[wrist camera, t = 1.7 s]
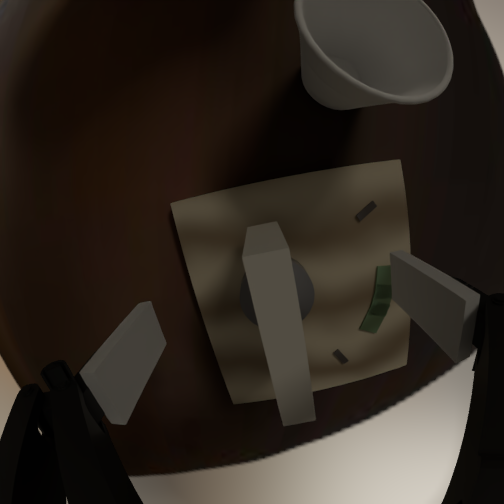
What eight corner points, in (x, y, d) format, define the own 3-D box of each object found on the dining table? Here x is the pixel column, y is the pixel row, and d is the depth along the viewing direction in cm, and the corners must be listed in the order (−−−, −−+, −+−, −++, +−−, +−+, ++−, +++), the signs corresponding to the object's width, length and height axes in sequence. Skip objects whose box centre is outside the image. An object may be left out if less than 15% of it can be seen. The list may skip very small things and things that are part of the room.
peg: (225, 227, 23) (202, 265, 13) (298, 212, 22) (328, 239, 13) (262, 376, 27) (264, 454, 17) (321, 365, 26) (343, 439, 17)
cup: (382, 142, 22) (458, 127, 11) (273, 121, 22) (287, 77, 11) (384, 50, 19) (443, 0, 9) (283, 26, 19) (297, -48, 9)
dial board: (174, 202, 24) (169, 203, 22) (394, 160, 22) (401, 159, 21) (234, 397, 29) (233, 405, 28) (402, 359, 28) (407, 366, 26)
